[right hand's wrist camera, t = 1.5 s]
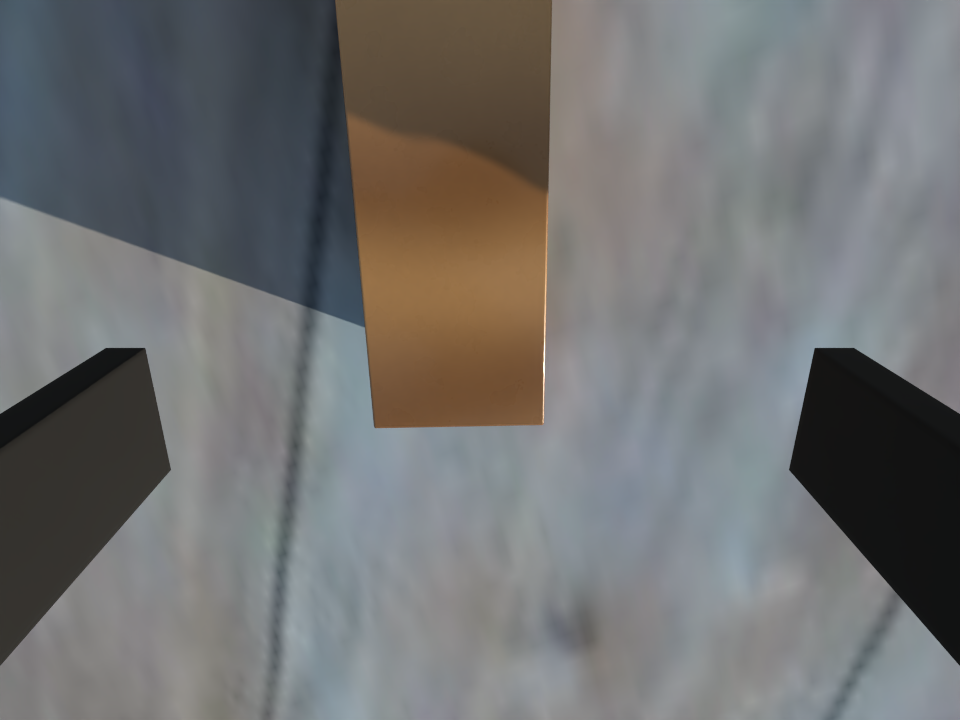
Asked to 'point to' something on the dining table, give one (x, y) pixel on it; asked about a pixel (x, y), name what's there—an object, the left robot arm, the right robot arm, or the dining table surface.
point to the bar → (450, 204)
